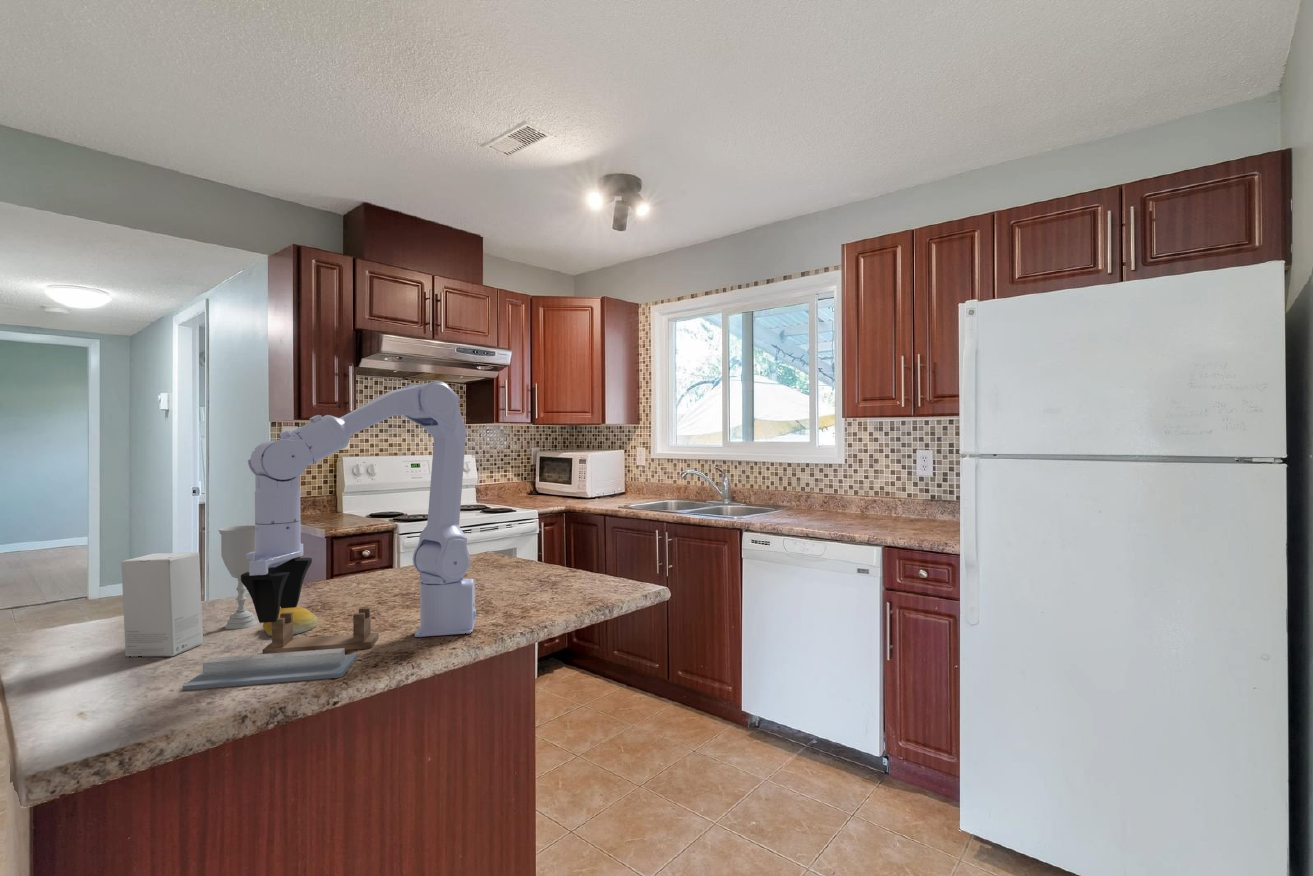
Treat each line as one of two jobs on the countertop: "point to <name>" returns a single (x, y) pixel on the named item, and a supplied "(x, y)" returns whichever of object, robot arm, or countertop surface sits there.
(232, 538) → the chalice
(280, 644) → the cradle rack
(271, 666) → the steel rail
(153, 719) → the countertop surface
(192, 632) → the skincare box
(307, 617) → the bread roll
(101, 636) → the countertop surface
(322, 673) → the slate mat
